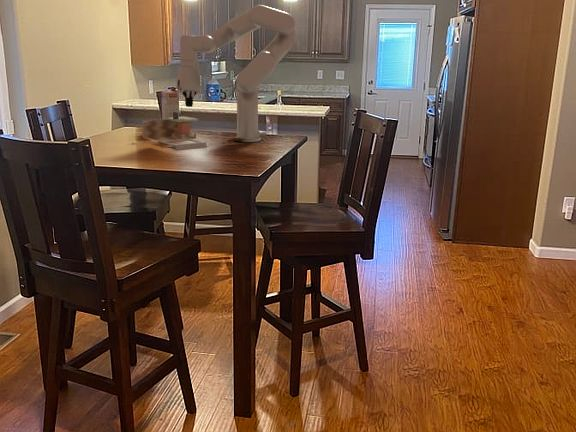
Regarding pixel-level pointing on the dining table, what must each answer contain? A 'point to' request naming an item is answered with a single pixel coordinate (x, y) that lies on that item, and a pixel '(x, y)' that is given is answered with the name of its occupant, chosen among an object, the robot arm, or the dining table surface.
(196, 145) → the tray
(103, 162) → the dining table surface
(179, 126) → the block
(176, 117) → the lid
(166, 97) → the cracker box
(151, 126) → the small wooden cabinet
